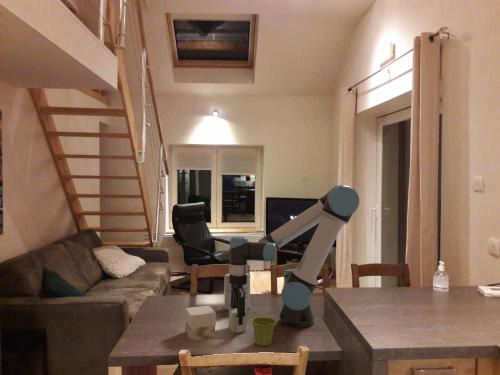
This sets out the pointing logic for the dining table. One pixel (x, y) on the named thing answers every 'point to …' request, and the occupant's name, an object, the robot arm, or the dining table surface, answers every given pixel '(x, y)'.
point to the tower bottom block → (200, 332)
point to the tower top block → (200, 317)
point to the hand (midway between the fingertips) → (237, 328)
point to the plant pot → (263, 330)
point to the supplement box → (228, 292)
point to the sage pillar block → (233, 320)
